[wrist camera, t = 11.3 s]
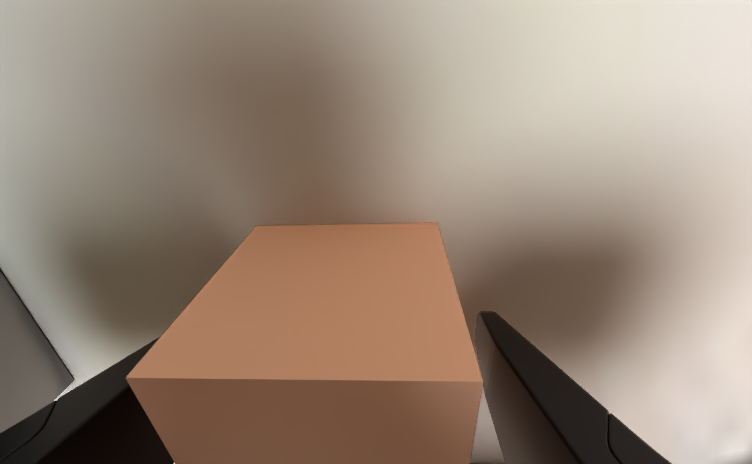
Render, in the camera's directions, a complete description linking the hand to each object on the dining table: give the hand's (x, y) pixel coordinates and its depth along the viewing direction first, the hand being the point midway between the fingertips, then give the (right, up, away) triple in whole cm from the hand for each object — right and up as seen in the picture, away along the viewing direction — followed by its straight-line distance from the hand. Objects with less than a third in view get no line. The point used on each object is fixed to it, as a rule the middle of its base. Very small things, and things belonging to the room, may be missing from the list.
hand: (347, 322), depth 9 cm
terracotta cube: (0, 0, +1) cm, 1 cm away
